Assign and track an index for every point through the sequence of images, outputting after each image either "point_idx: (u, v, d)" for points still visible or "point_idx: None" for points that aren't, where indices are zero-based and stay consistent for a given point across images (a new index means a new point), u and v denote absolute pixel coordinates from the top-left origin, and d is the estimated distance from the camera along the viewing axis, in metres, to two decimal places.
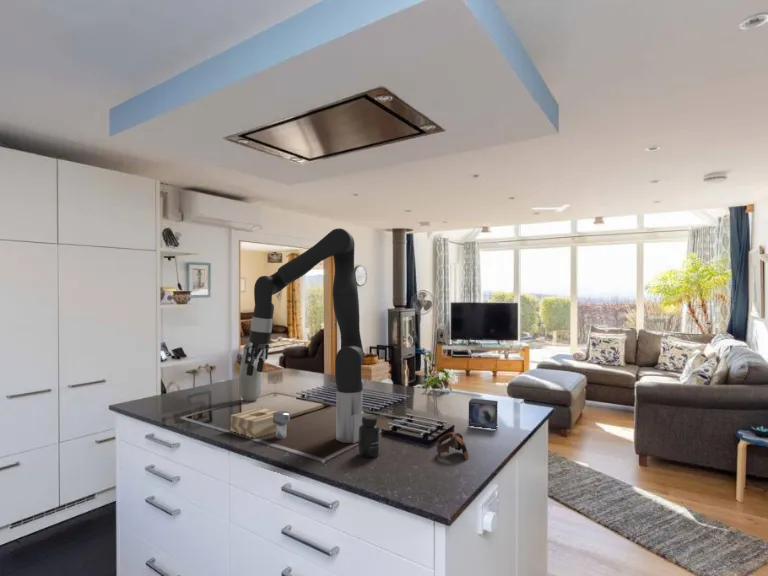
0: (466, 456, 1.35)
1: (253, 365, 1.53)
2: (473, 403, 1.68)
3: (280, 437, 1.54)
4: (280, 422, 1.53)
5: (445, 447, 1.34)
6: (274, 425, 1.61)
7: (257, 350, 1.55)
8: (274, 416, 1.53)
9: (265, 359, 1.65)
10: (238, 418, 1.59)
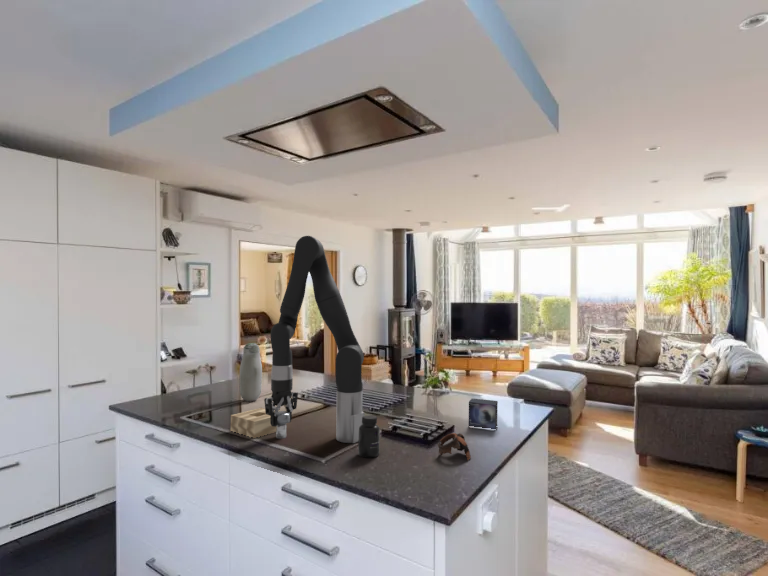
0: (468, 457, 1.35)
1: (275, 416, 1.52)
2: (473, 403, 1.68)
3: (280, 437, 1.54)
4: (280, 422, 1.53)
5: (447, 448, 1.34)
6: None
7: (277, 399, 1.53)
8: None
9: (293, 408, 1.59)
10: (238, 418, 1.59)
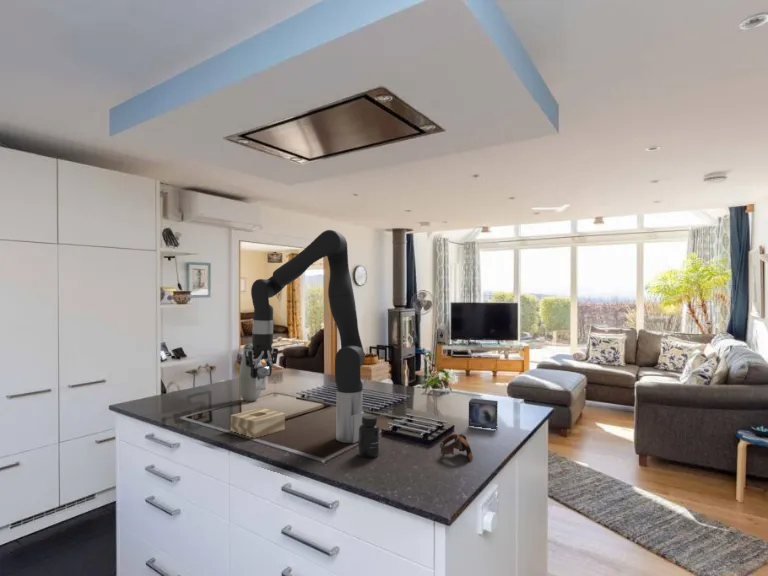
0: (471, 457, 1.34)
1: (255, 368, 1.58)
2: (473, 403, 1.68)
3: (260, 389, 1.60)
4: (260, 374, 1.59)
5: (450, 448, 1.33)
6: (274, 425, 1.61)
7: (257, 352, 1.59)
8: None
9: (273, 363, 1.66)
10: (238, 418, 1.59)
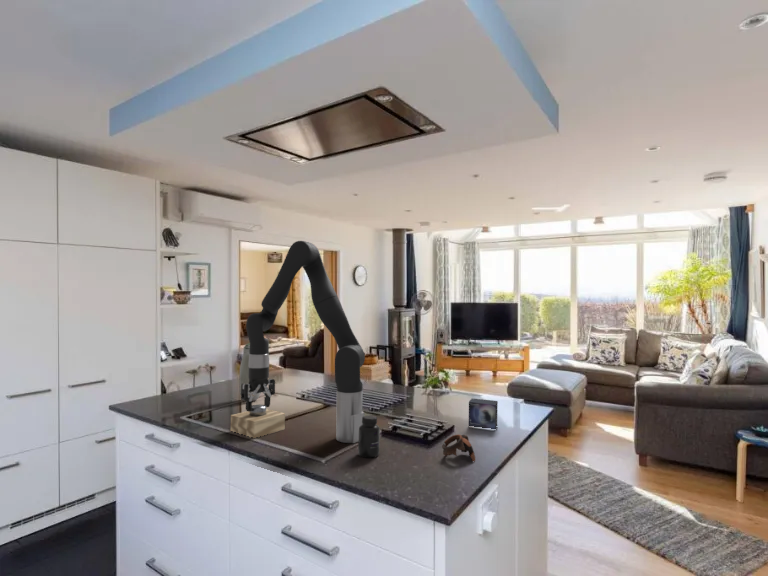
0: (473, 458, 1.34)
1: (250, 401, 1.59)
2: (473, 403, 1.68)
3: None
4: (256, 415, 1.60)
5: (452, 449, 1.32)
6: (274, 425, 1.61)
7: (253, 386, 1.60)
8: None
9: (272, 394, 1.68)
10: (238, 418, 1.59)
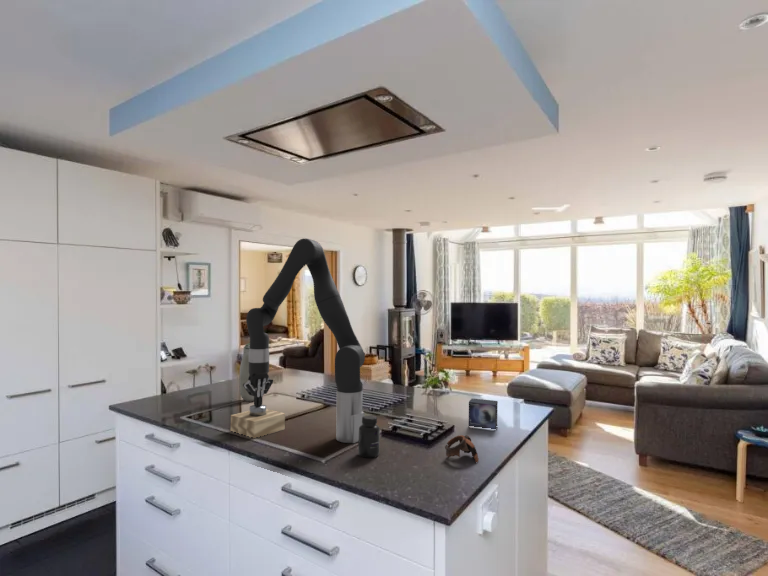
0: (476, 459, 1.33)
1: (259, 396, 1.62)
2: (473, 403, 1.68)
3: None
4: (256, 415, 1.60)
5: (456, 450, 1.32)
6: (274, 425, 1.61)
7: (254, 380, 1.61)
8: (251, 409, 1.61)
9: (264, 392, 1.65)
10: (238, 418, 1.59)
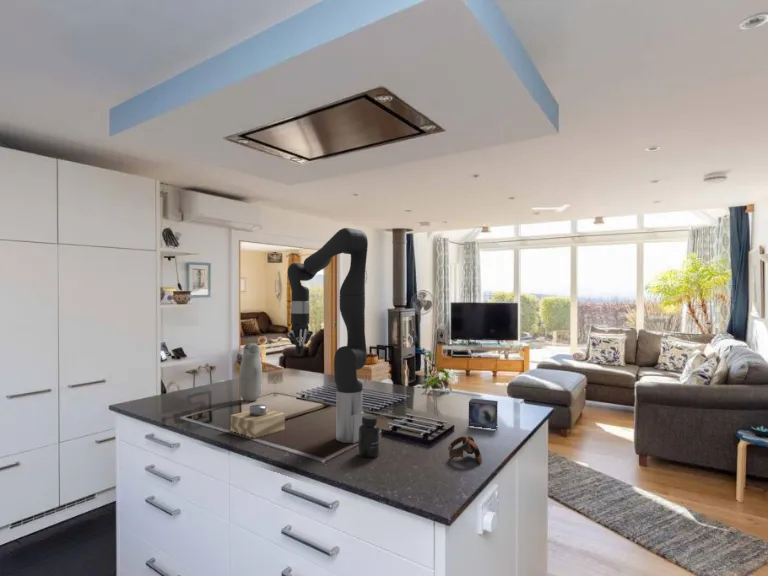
0: (480, 460, 1.32)
1: (300, 345, 1.74)
2: (473, 403, 1.68)
3: None
4: (256, 415, 1.60)
5: (459, 451, 1.31)
6: (274, 425, 1.61)
7: (296, 329, 1.73)
8: (251, 409, 1.61)
9: (304, 342, 1.76)
10: (238, 418, 1.59)
